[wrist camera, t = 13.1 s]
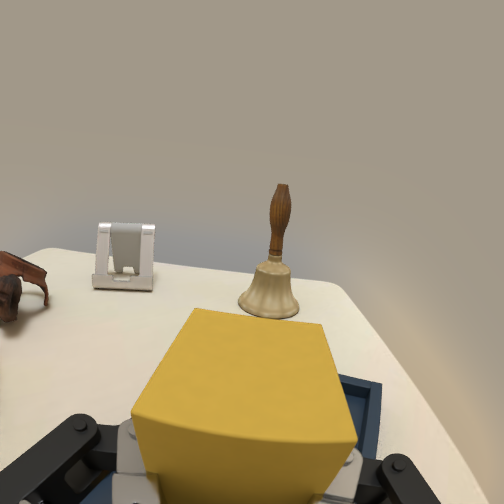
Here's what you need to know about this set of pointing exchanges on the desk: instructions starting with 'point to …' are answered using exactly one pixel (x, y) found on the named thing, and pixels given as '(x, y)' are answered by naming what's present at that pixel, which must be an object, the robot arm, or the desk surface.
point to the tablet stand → (125, 255)
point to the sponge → (244, 413)
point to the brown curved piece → (17, 283)
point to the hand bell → (273, 269)
